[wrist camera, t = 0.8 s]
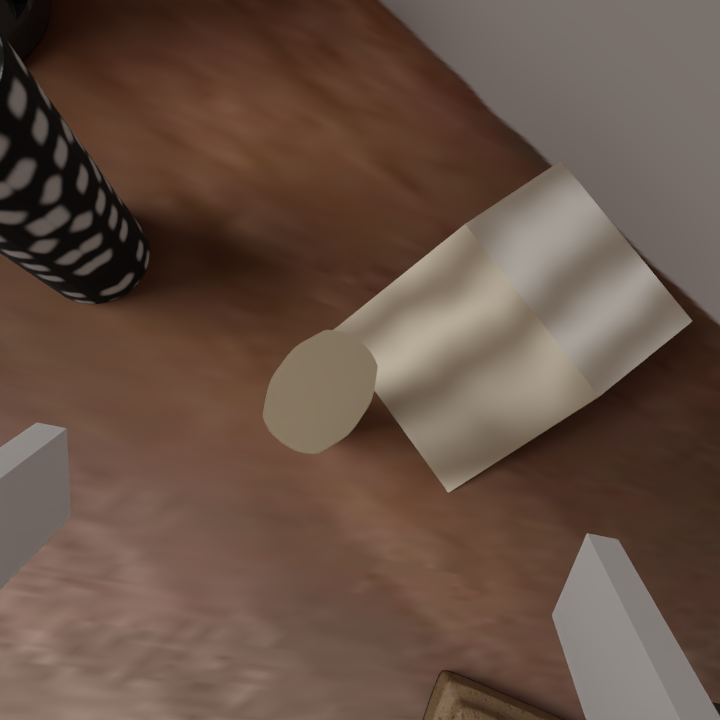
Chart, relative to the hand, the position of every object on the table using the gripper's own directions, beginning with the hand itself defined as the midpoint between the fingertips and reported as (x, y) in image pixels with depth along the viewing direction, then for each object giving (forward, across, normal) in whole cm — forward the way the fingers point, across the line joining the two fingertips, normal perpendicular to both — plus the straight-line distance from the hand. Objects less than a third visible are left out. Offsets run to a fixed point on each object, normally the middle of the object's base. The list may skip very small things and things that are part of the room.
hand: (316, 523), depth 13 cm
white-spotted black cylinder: (+29, -23, -2) cm, 37 cm away
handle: (+25, -3, -11) cm, 27 cm away
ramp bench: (+32, +10, -4) cm, 34 cm away
